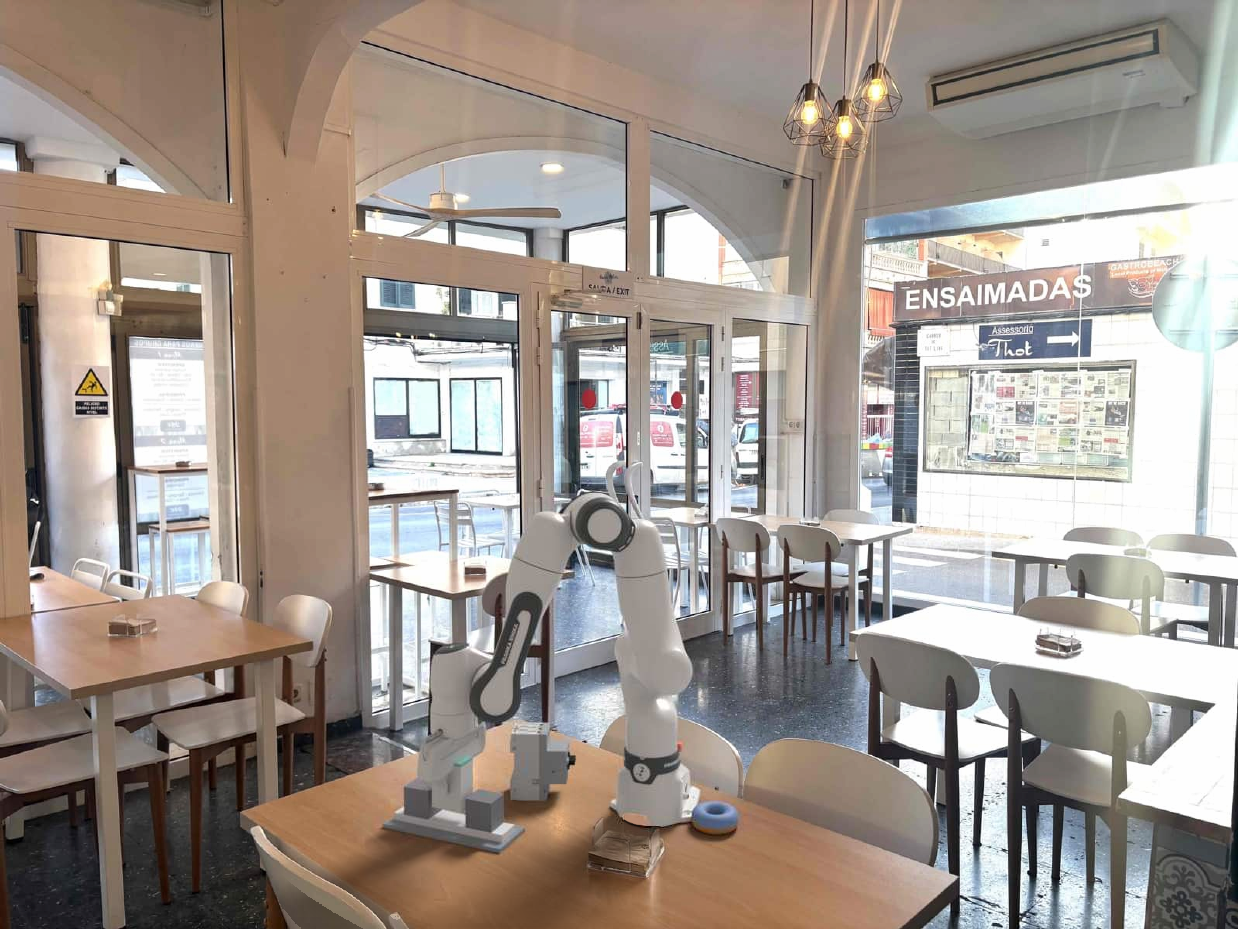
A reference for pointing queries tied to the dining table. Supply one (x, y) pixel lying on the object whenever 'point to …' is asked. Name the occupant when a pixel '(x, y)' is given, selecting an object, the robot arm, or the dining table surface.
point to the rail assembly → (456, 819)
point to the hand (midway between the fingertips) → (452, 788)
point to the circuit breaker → (537, 761)
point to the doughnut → (715, 817)
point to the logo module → (456, 787)
